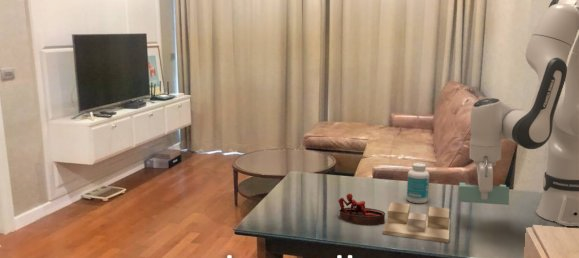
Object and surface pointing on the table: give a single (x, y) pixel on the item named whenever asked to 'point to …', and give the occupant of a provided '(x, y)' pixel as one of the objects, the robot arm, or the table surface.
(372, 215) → the figurine
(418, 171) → the pill bottle
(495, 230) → the table surface
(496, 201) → the teal c-shaped bracket
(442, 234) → the display stand
